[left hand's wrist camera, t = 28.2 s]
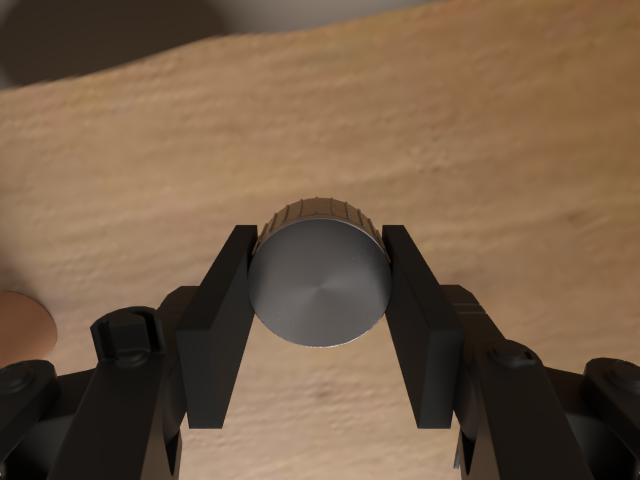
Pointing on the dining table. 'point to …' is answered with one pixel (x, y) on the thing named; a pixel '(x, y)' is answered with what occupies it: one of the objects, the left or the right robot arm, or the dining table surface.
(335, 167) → the dining table surface
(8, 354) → the bottle
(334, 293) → the cap
